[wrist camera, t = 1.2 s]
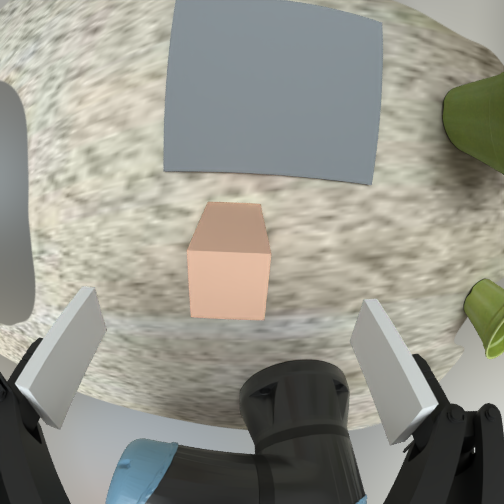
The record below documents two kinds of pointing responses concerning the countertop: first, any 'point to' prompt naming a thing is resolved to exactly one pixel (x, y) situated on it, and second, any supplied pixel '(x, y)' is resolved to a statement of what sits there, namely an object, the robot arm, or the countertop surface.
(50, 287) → the countertop surface
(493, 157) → the plant pot
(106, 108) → the countertop surface
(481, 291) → the plant pot
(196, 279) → the block
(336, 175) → the mat
